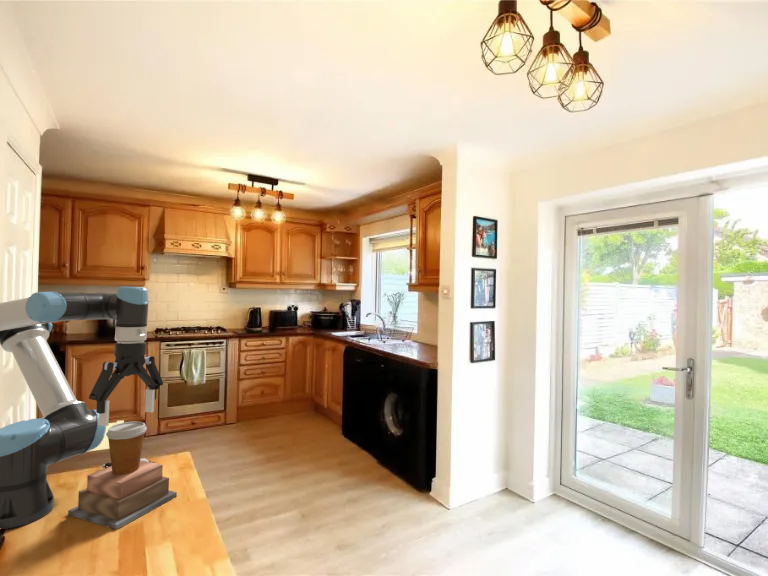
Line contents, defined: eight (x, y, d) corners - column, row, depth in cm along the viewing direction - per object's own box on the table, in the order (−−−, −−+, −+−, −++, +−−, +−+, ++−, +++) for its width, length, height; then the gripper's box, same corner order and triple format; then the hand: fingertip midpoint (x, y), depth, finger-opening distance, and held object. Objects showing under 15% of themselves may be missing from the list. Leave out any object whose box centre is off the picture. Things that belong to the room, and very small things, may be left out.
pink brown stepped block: (68, 514, 106) (69, 477, 106) (131, 485, 123) (132, 453, 123) (116, 529, 100) (118, 490, 100) (176, 496, 116) (177, 462, 117)
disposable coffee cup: (139, 475, 108) (140, 430, 108) (98, 479, 105) (100, 433, 106) (150, 461, 117) (151, 420, 117) (112, 464, 115) (114, 422, 115)
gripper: (95, 347, 99) (91, 433, 99) (177, 338, 123) (175, 408, 122) (74, 345, 102) (70, 429, 101) (159, 337, 125) (156, 405, 125)
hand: (127, 418), depth 112 cm, fingers open, 13 cm apart
